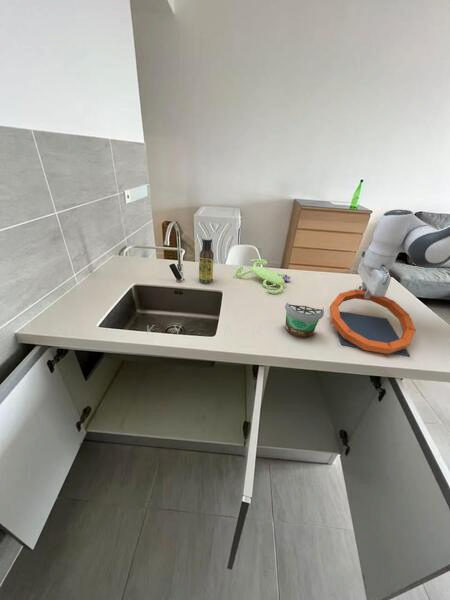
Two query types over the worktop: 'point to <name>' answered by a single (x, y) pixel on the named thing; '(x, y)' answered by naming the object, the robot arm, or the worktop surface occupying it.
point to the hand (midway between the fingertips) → (364, 295)
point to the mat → (370, 330)
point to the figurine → (266, 275)
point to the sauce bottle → (206, 261)
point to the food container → (302, 320)
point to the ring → (360, 340)
